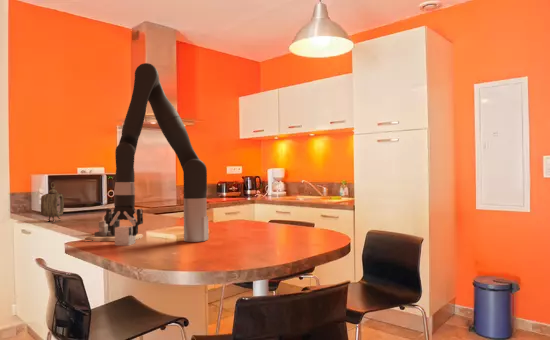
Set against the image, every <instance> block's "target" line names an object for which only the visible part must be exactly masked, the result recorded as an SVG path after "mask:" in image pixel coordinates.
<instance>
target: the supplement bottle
mask: <svg viewBox="0 0 550 340" xmlns="http://www.w3.org/2000/svg"><path fill="white" fill-rule="evenodd" d="M109 208H110V207H109ZM109 208H106V210H107V209H109ZM114 208H115V207H112V209H114ZM106 210H105V211H106ZM114 216H115V213H114V212H113V214H112V219H113V218H114ZM103 221H106V214H105V215H104V217H103ZM120 221H121V220H119V221H118V222H117V223H116V224H115V225H116V227H120V226H121V224H120V223H121V222H120ZM108 231H110V225H109V224H108Z"/></svg>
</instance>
